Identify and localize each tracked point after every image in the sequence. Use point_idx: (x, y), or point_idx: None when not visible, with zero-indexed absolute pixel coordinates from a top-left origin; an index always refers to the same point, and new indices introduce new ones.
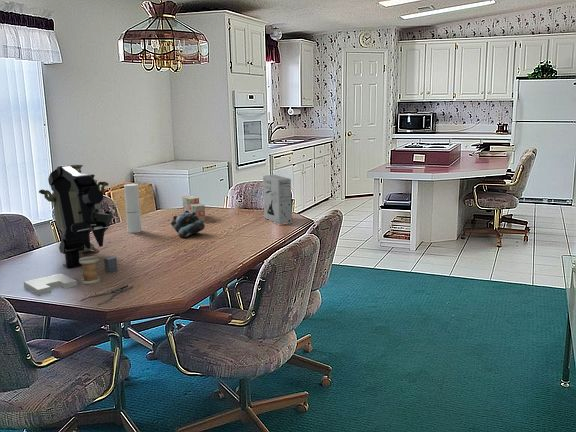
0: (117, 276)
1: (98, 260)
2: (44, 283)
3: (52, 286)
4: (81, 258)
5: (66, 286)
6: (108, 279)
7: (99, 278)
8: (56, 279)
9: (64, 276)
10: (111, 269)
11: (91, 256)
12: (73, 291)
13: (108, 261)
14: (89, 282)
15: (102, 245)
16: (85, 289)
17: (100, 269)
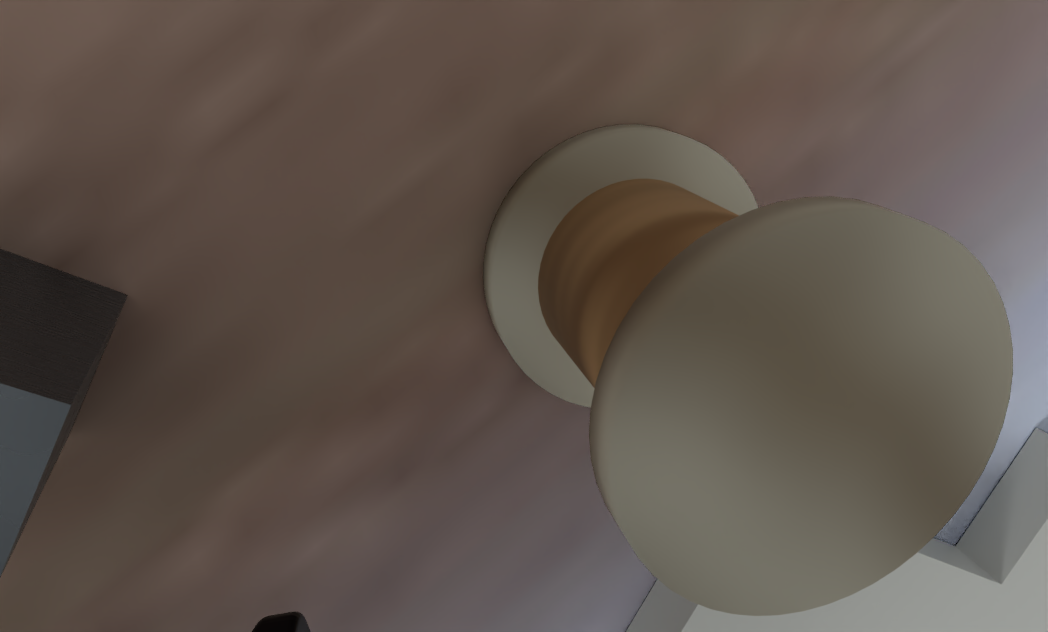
0: (248, 6)
1: (721, 227)
2: (979, 612)
3: None
4: (815, 587)
5: None
6: (454, 61)
7: (578, 160)
8: (835, 613)
9: (709, 626)
10: (64, 296)
11: (631, 518)
12: (1010, 195)
13: (78, 383)
14: (749, 197)
15: (274, 626)
16: (934, 92)
17: (11, 577)
